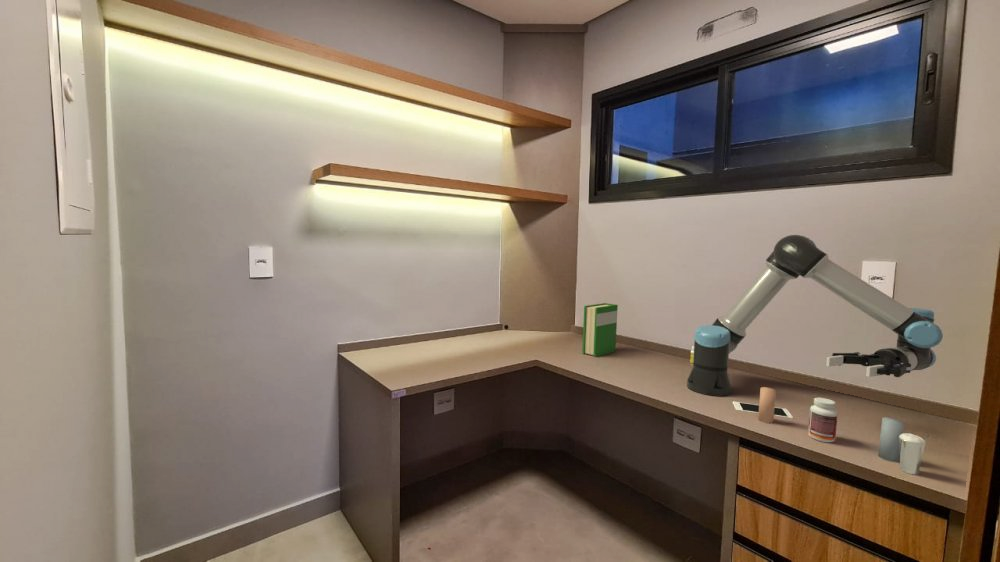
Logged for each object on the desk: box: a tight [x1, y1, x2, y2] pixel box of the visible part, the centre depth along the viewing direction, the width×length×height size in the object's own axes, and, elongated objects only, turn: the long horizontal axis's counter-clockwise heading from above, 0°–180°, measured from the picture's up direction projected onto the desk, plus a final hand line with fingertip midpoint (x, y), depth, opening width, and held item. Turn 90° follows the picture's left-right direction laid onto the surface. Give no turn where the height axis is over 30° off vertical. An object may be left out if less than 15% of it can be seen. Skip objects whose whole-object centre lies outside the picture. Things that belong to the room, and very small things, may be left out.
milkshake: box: [899, 432, 931, 475], centre depth 99 cm, size 4×5×10 cm
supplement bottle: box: [689, 345, 694, 367], centre depth 186 cm, size 5×5×8 cm
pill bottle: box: [807, 397, 839, 443], centre depth 116 cm, size 6×6×11 cm
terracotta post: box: [757, 386, 777, 424], centre depth 127 cm, size 4×4×10 cm
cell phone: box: [732, 401, 794, 419], centre depth 136 cm, size 8×16×1 cm, turn 69°
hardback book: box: [581, 302, 619, 358], centre depth 204 cm, size 18×7×24 cm, turn 132°
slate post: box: [878, 417, 905, 463], centre depth 106 cm, size 4×4×10 cm
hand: (847, 366), depth 118 cm, fingers open, 9 cm apart
